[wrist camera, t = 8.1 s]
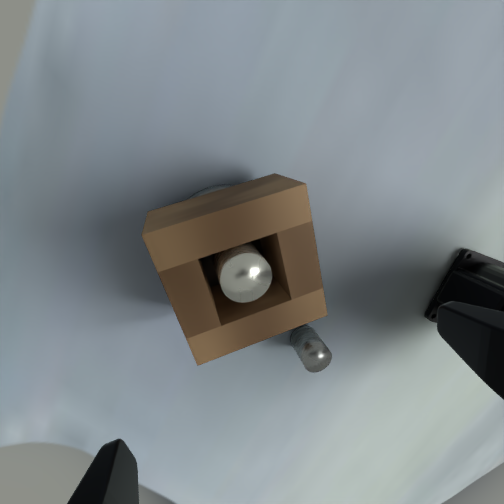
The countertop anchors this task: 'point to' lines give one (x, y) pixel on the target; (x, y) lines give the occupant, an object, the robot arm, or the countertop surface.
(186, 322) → the wooden square frame
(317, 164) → the countertop surface
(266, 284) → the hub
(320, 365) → the grey metal cylinder
